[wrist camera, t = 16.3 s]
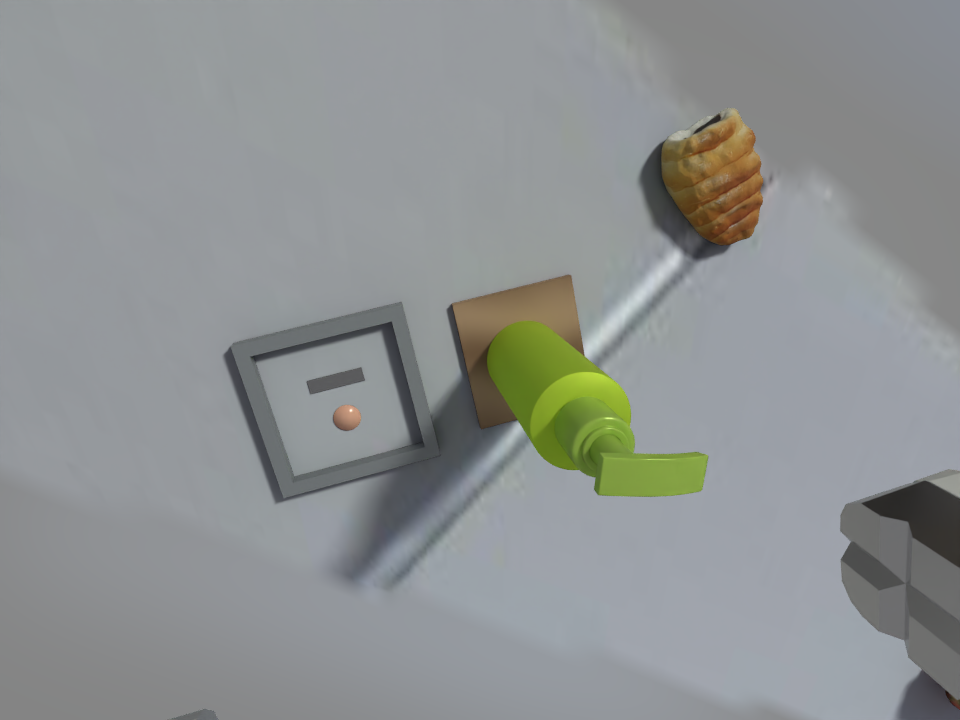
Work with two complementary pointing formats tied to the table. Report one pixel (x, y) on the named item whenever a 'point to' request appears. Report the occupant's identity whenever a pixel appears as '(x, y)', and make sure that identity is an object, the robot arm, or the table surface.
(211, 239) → the table surface
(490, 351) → the soap dispenser
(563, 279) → the walnut pad
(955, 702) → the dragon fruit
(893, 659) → the table surface
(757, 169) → the pastry
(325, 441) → the table surface
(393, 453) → the slate frame
